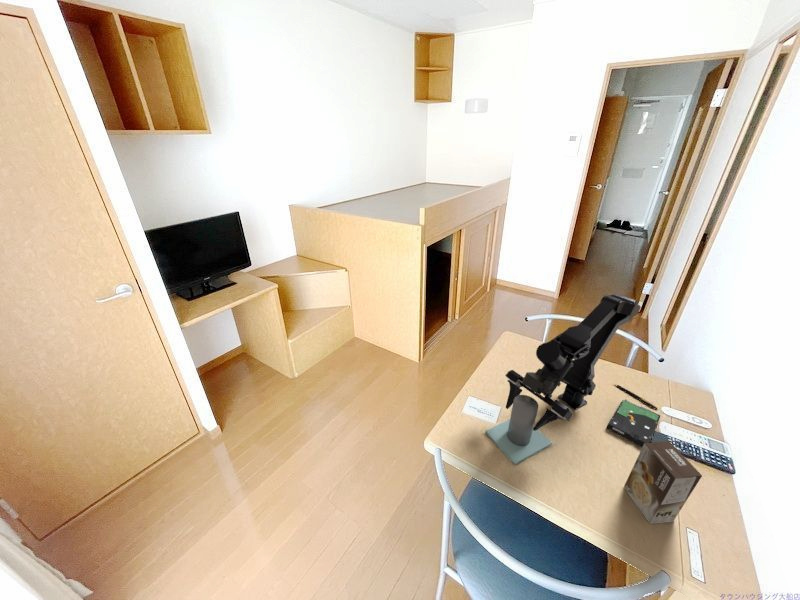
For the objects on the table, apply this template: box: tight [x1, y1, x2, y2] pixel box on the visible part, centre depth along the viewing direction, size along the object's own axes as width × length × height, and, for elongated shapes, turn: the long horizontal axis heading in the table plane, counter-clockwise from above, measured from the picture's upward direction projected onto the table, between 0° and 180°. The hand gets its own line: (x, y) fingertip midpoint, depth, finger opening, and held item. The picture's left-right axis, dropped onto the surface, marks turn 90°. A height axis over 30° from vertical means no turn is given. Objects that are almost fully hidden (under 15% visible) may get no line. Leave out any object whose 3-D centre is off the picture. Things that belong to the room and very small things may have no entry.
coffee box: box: [623, 440, 703, 525], centre depth 75 cm, size 9×6×16 cm
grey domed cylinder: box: [507, 394, 540, 446], centre depth 92 cm, size 6×6×13 cm
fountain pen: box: [613, 383, 658, 410], centre depth 109 cm, size 14×1×2 cm, turn 31°
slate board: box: [485, 418, 553, 466], centre depth 95 cm, size 14×12×1 cm
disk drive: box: [606, 398, 661, 448], centre depth 99 cm, size 10×3×15 cm
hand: (519, 418), depth 90 cm, fingers open, 9 cm apart
